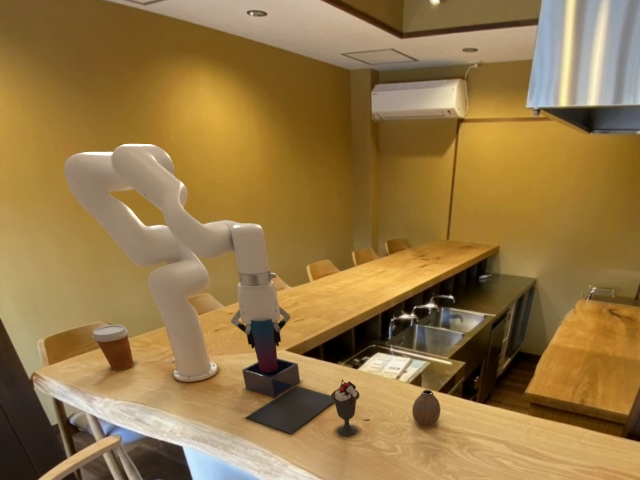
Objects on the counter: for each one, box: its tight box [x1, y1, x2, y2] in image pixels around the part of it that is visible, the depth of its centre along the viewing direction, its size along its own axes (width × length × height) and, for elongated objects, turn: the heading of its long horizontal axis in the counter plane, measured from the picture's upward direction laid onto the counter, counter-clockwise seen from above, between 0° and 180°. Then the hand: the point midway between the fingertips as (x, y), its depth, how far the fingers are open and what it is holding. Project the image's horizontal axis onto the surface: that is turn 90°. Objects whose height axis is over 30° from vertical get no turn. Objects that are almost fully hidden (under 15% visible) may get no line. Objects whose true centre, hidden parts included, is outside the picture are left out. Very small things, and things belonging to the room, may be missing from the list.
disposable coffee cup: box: [92, 324, 135, 371], centre depth 131 cm, size 10×10×12 cm
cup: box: [250, 319, 278, 372], centre depth 116 cm, size 7×7×15 cm
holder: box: [241, 357, 301, 399], centre depth 121 cm, size 11×11×6 cm
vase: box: [411, 389, 441, 428], centre depth 103 cm, size 7×7×9 cm
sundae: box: [330, 379, 360, 438], centre depth 98 cm, size 7×7×15 cm
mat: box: [245, 385, 335, 435], centre depth 112 cm, size 15×20×1 cm
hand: (265, 344), depth 116 cm, fingers closed on cup, 6 cm apart
